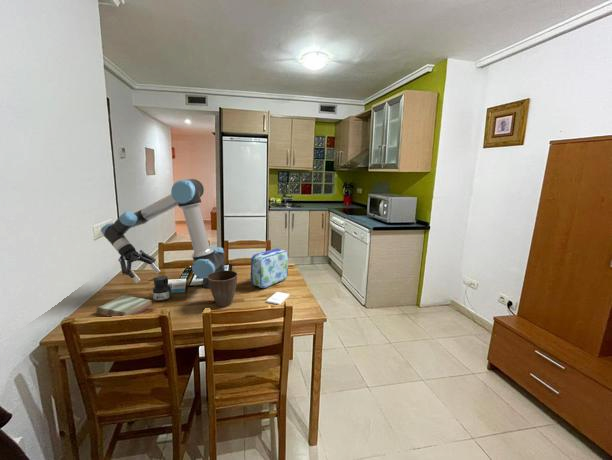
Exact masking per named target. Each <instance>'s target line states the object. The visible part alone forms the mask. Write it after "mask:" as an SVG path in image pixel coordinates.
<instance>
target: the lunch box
mask: <svg viewBox="0 0 612 460" xmlns="http://www.w3.org/2000/svg"><path fill="white" fill-rule="evenodd" d="M288 274H289V253H288V252H287V250H282V249H280V248H274V249H270V250H266V251H262V252H257V253H255V254H253V255H252V256H251V259H250V283H251V285H253V286H257V287H259V288H262V289H266V288H269V287H271V286H273V285H276V284H277V283H281V282H282V281H285V280H286V279H287V278H288Z"/></svg>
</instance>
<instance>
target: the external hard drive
mask: <svg viewBox="0 0 612 460" xmlns="http://www.w3.org/2000/svg"><path fill="white" fill-rule="evenodd" d="M289 297H290V293H285V292H282V291H276V292H275V293H273V295H271V296H270V297H269V298H267V299H266V300H265V303H268V304H272V305H276V304H280V305H281V304H282V303H283V302H284V301H286V300H287V299H288V298H289Z"/></svg>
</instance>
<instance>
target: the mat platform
mask: <svg viewBox="0 0 612 460" xmlns="http://www.w3.org/2000/svg"><path fill="white" fill-rule="evenodd" d="M152 302H153V301H152V300H151V299H148V298H147V299H146V298H142V297H136V296H131V295H125V294H123V295H122V296H119V297H117V298H115V299H113V300H111V301H108V302H106V303H104V304H102V305H100V306H98V307H97V308H96V312H97V315H99V314H103V315H102V316H104V315H109V316H123V315H134V314H136V315H138V314H140V313H142V312H143V311H145V310H147V309H148V308H150V307H152V306H153V305H152ZM109 316H108V317H109Z"/></svg>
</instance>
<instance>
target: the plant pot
mask: <svg viewBox="0 0 612 460" xmlns="http://www.w3.org/2000/svg"><path fill="white" fill-rule="evenodd" d="M207 278H208V283H209V286H210V288H209V290H210V292H211V295H212V297H213V299H214V302H215V303H216V305H217V306H218V307H219V308H225V307H229V306H231V305H232V304H233V300H234V296H235V292H236V288H237V282H238V273H237V272H236V271H234V270H229V269H228V270H224V271H217V272H213V273H211V274H209V275H208V276H207Z"/></svg>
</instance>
